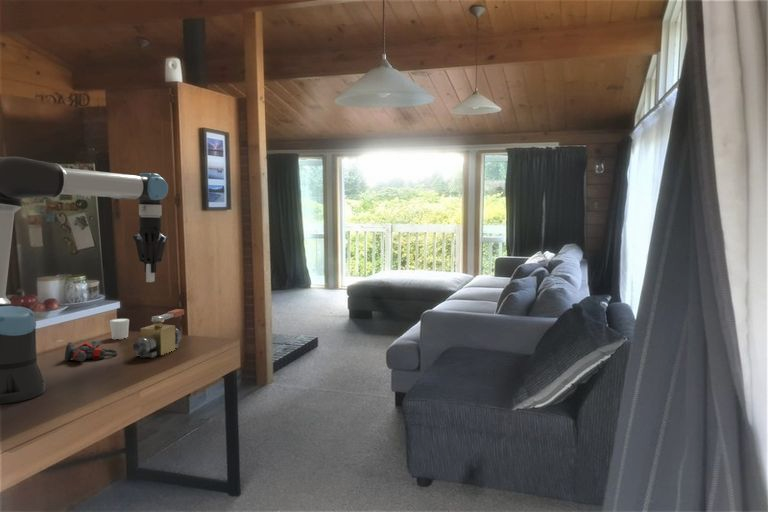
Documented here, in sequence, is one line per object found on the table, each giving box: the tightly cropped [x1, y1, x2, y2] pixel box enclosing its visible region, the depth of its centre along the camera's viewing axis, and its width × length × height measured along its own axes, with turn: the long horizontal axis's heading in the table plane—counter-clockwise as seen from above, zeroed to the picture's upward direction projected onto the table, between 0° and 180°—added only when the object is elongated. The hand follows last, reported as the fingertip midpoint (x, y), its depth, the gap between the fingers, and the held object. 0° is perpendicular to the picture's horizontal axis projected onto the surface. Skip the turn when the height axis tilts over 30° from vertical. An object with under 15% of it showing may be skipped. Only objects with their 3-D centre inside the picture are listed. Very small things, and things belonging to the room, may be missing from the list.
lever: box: [151, 308, 185, 324], centre depth 200 cm, size 16×4×2 cm, turn 168°
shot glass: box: [109, 318, 130, 340], centre depth 214 cm, size 7×7×7 cm
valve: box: [64, 340, 118, 363], centre depth 191 cm, size 6×26×15 cm
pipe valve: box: [132, 322, 182, 359], centre depth 195 cm, size 18×8×11 cm, turn 165°
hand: (150, 281), depth 202 cm, fingers closed
